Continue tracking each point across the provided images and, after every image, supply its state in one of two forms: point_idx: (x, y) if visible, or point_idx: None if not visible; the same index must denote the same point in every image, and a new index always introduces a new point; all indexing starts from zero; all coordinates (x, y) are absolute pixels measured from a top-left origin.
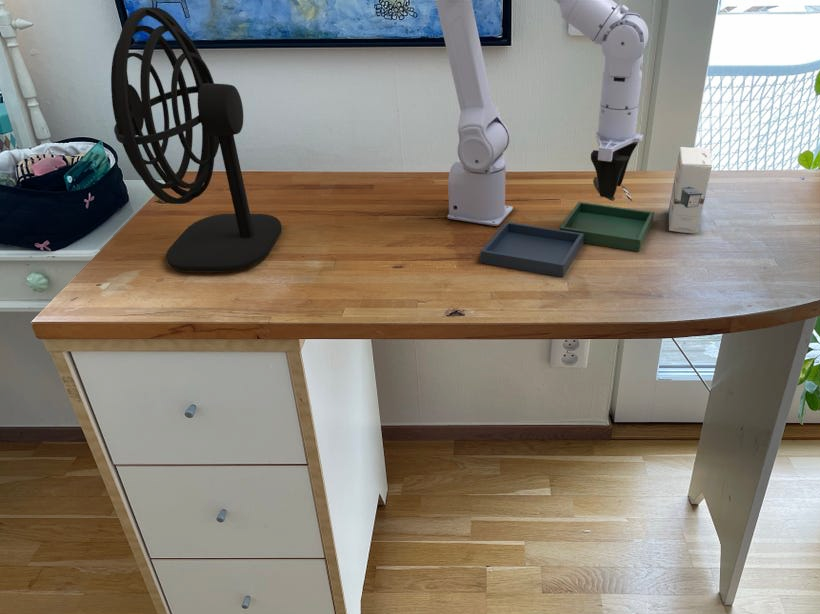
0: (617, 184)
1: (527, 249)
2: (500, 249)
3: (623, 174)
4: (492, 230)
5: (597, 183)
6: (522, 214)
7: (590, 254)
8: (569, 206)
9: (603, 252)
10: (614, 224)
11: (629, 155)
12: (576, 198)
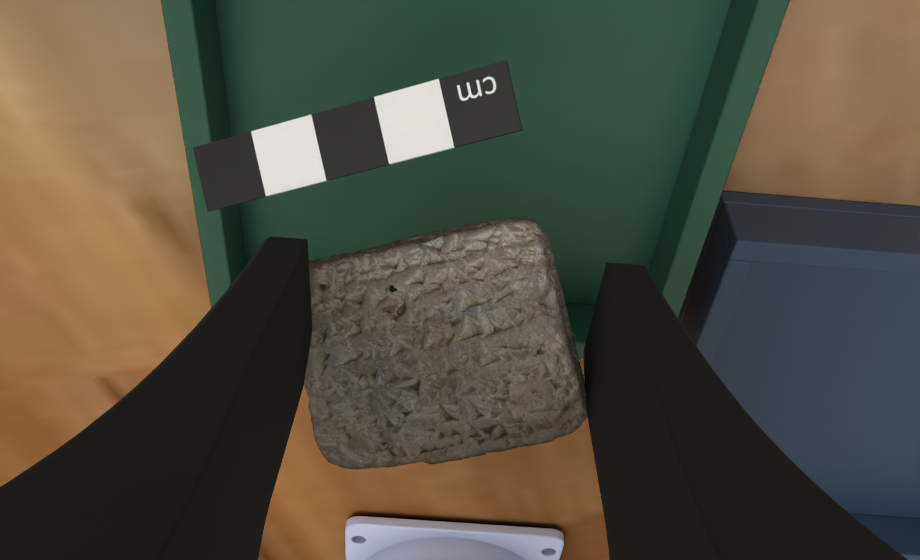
0: (643, 341)
1: (839, 416)
2: (837, 494)
3: (273, 313)
4: (597, 532)
5: (513, 444)
6: (381, 476)
7: (862, 130)
8: (168, 326)
9: (830, 56)
10: (378, 52)
11: (206, 489)
12: (26, 311)
